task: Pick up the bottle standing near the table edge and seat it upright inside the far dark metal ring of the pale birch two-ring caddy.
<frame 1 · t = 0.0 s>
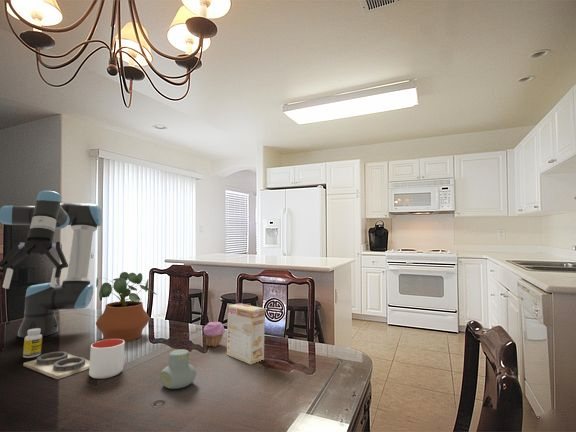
hand: (29, 287, 111), 28 cm above the table, tool tilted 20°, fingers open, 13 cm apart
coffeecake box: (244, 358, 125), on the table
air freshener: (177, 385, 100), on the table
caddy: (60, 365, 113), on the table
potted plant: (126, 336, 150), on the table
cup: (106, 374, 107), on the table
supplement bottle: (31, 356, 123), on the table
cupcake: (213, 345, 138), on the table
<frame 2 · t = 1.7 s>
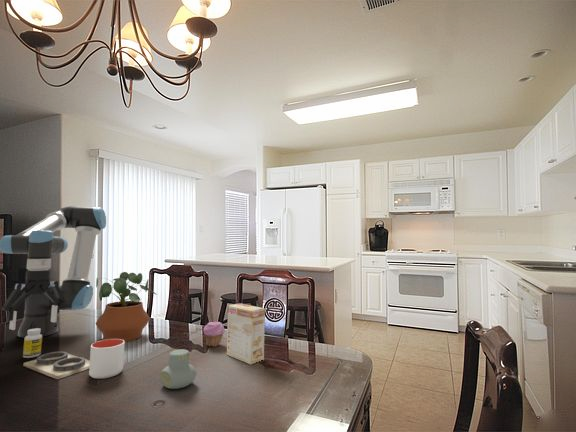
hand: (33, 325, 123), 11 cm above the table, tool pointing down, fingers open, 13 cm apart
nothing on the table moved.
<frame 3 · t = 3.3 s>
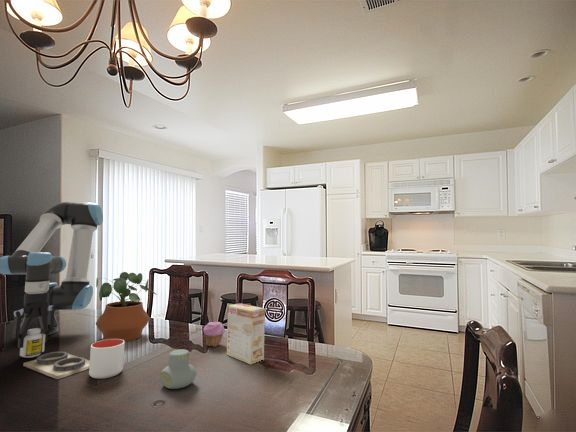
hand: (32, 353, 123), 1 cm above the table, tool pointing down, fingers closed on supplement bottle, 5 cm apart
supplement bottle: (31, 356, 123), on the table, touching gripper
everything else where it was.
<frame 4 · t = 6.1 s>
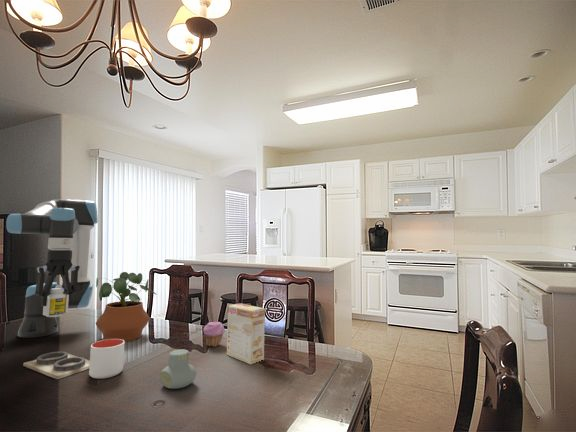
hand: (55, 313, 117), 18 cm above the table, tool pointing down, fingers closed on supplement bottle, 5 cm apart
supplement bottle: (55, 316, 116), point 17 cm above the table, touching gripper
everything else where it was.
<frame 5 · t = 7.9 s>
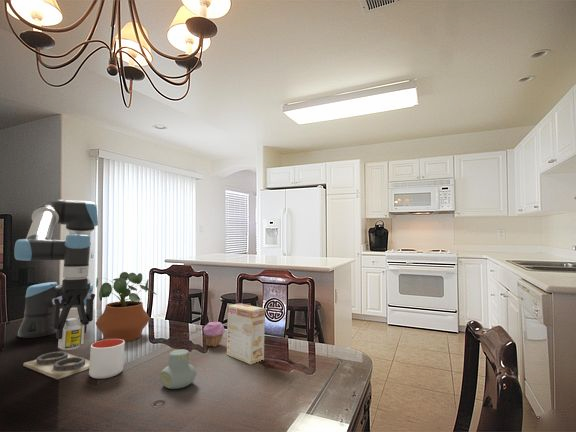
hand: (70, 345, 111), 8 cm above the table, tool pointing down, fingers closed on supplement bottle, 5 cm apart
supplement bottle: (70, 348, 111), point 7 cm above the table, touching gripper
everything else where it was.
when the fingers open (4 cm above the table, at t = 9.0 s): supplement bottle drops 2 cm, resting on caddy.
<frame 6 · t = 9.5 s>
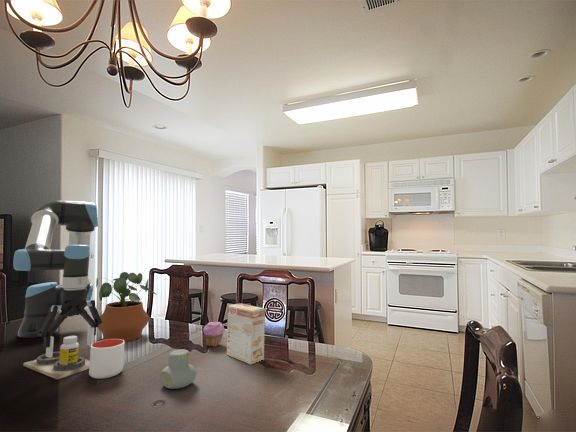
hand: (70, 350, 111), 6 cm above the table, tool pointing down, fingers open, 13 cm apart
supplement bottle: (68, 366, 111), point 1 cm above the table, touching caddy
everything else where it was.
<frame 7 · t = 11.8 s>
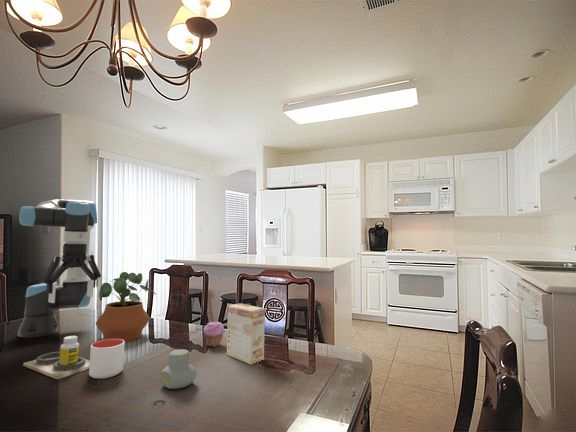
hand: (71, 299, 121), 22 cm above the table, tool pointing down, fingers open, 13 cm apart
nothing on the table moved.
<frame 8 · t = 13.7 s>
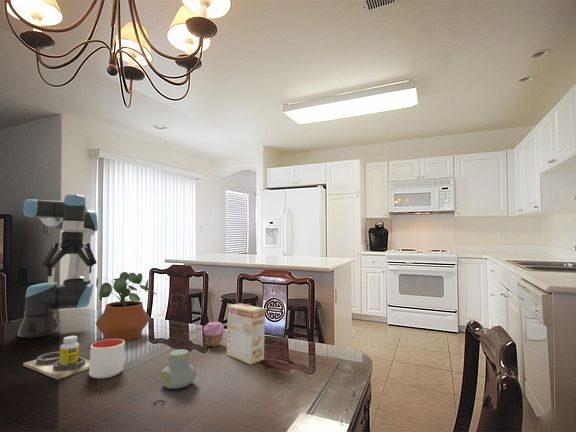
hand: (69, 282, 132), 27 cm above the table, tool pointing down, fingers open, 13 cm apart
nothing on the table moved.
at the end: supplement bottle 0.3 cm from the target spot on the caddy, point 0.8 cm above the caddy's base; supplement bottle tilted 0°; the gripper is holding nothing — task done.
